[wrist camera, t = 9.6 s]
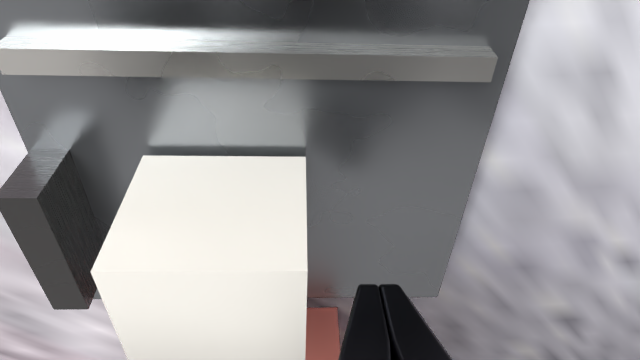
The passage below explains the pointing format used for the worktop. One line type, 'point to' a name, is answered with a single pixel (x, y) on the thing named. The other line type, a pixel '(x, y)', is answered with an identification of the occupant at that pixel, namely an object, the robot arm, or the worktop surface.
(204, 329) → the matte white cube
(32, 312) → the worktop surface
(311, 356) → the cap
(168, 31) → the strip
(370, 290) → the robot arm
